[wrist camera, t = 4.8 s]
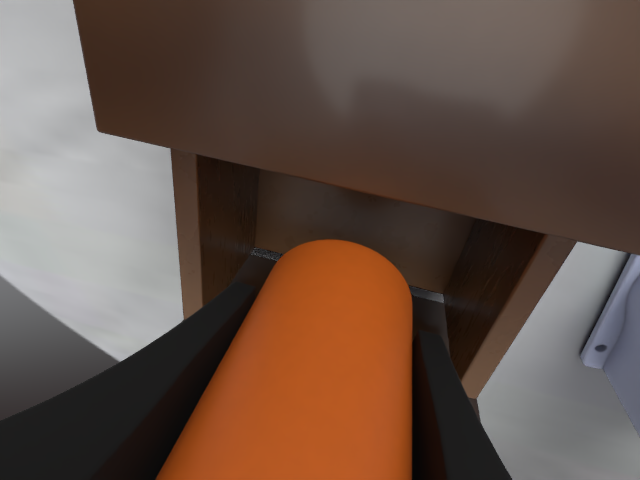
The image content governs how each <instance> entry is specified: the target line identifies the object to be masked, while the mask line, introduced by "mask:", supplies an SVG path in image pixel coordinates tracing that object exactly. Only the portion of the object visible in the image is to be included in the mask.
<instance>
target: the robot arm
mask: <svg viewBox="0 0 640 480" xmlns="http://www.w3.org/2000/svg"><path fill="white" fill-rule="evenodd" d="M255 296H256V287H255V286H251V285H248V284H244V283H240V282H234V283H232V284H231V285H230V286H228V287H227V288H226V289H225V290H223V291H222V292H221V293H220V294H218V295H217V296H216V297H215V298H213V299H212V300H211V301H210V302H208V303H207V304H206V305H204V306H203V307H202V308H200V309H199V310H198V311H196V312H195V313H194V314H192V315H191V316H190V317H188V318H187V319H185V320H184V321H183V322H181V323H180V324H179V325H177V326H176V327H174V328H173V329H171V330H170V331H169V332H167V333H166V334H164V335H162V336H161V337H159V338H158V339H156V340H155V341H153V342H152V343H150V344H149V345H147V346H146V347H144V348H143V349H141V350H139V351H138V352H136V353H135V354H133V355H131V356H130V357H128V358H126V359H125V360H123V361H121V362H120V363H118V364H116V365H114V366H112V367H111V368H109V369H107V370H105V371H104V372H102V373H100V374H98V375H96V376H94V377H93V378H90V379H88V380H87V381H85V382H83V383H81V384H79V385H77V386H75V387H73V388H71V389H69V390H67V391H65V392H63V393H61V394H59V395H57V396H55V397H53V398H51V399H49V400H46V401H44V402H42V403H40V404H37V405H35V406H33V407H31V408H29V409H26V410H24V411H22V412H19V413H17V414H15V415H12V416H10V417H8V418H6V419H3V420H1V421H0V480H155V479H156V477H157V476H158V474H159V472H160V470H161V468H162V467H163V465H164V463H165V461H166V459H167V458H168V456H169V454H170V452H171V450H172V449H173V447H174V445H175V443H176V441H177V440H178V438H179V436H180V434H181V432H182V431H183V429H184V427H185V425H186V423H187V422H188V420H189V418H190V416H191V414H192V413H193V411H194V409H195V407H196V405H197V404H198V402H199V400H200V398H201V396H202V395H203V393H204V391H205V389H206V387H207V386H208V384H209V382H210V380H211V378H212V377H213V375H214V373H215V371H216V369H217V368H218V366H219V364H220V362H221V360H222V359H223V357H224V355H225V353H226V351H227V350H228V348H229V346H230V344H231V342H232V341H233V339H234V337H235V335H236V333H237V332H238V330H239V328H240V326H241V324H242V323H243V321H244V319H245V317H246V315H247V314H248V312H249V310H250V308H251V306H252V305H253V303H254V301H255ZM597 345H600V346H597ZM580 358H581V360H582V362H583V364H584V365H585V366H588V367H592V368H599V369H603V370H604V372H605V374H606V375H607V377H608V379H609V381H610V383H611V385H612V387H613V388H614V390H615V392H616V394H617V396H618V398H619V400H620V401H621V403H622V405H623V407H624V409H625V411H626V412H627V414H628V416H629V418H630V420H631V422H632V424H633V425H634V427H635V429H636V431H637V433H638V435H639V437H640V255H635V254H631V256H630V258H629V260H628V262H627V264H626V266H625V268H624V270H623V272H622V274H621V276H620V278H619V280H618V282H617V284H616V286H615V288H614V290H613V292H612V294H611V296H610V298H609V300H608V302H607V304H606V306H605V308H604V310H603V312H602V314H601V316H600V318H599V320H598V322H597V324H596V326H595V328H594V330H593V332H592V334H591V336H590V338H589V340H588V342H587V344H586V346H585V348H584V350H583V352H582V354H581V357H580ZM412 480H512V478H511V476H510V475H509V473H508V471H507V470H506V468H505V466H504V465H503V463H502V461H501V459H500V458H499V456H498V454H497V452H496V450H495V449H494V447H493V445H492V443H491V441H490V439H489V438H488V436H487V434H486V432H485V430H484V428H483V426H482V424H481V422H480V420H479V419H478V416H477V414H476V412H475V410H474V408H473V406H472V404H471V402H470V400H469V398H468V396H467V394H466V392H465V390H464V388H463V385H462V383H461V381H460V379H459V376H458V374H457V372H456V370H455V367H454V365H453V363H452V360H451V358H450V356H449V353H448V351H447V348H446V346H445V343H444V341H443V339H442V337H441V335H437V334H433V333H430V332H426V331H422V330H418V331H417V333H416V335H415V338H414V340H413V342H412Z"/></svg>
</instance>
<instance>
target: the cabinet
mask: <svg viewBox="0 0 640 480" xmlns="http://www.w3.org/2000/svg"><path fill="white" fill-rule="evenodd" d="M73 4H74V9H75V14H76V20H77V25H78V30H79V36H80V41H81V46H82V52H83V57H84V63H85V68H86V73H87V79H88V84H89V89H90V95H91V100H92V106H93V111H94V116H95V122H96V127H97V130H98V131H99V132H101V133H105V134H110V135H114V136H119V137H123V138H127V139H132V140H136V141H141V142H145V143H149V144H154V145H158V146H162V147H167V148H171V149H176V150H180V151H184V152H189V153H193V154H197V155H202V156H206V157H211V158H215V159H219V160H224V161H228V162H232V163H237V164H241V165H246V166H250V167H254V168H259V169H263V170H267V171H272V172H276V173H281V174H285V175H289V176H294V177H298V178H303V179H307V180H311V181H316V182H320V183H324V184H329V185H333V186H338V187H342V188H346V189H351V190H355V191H359V192H364V193H368V194H373V195H377V196H381V197H386V198H390V199H394V200H399V201H403V202H408V203H412V204H416V205H421V206H425V207H429V208H434V209H438V210H443V211H447V212H451V213H456V214H460V215H465V216H469V217H473V218H478V219H482V220H486V221H491V222H495V223H500V224H504V225H508V226H513V227H517V228H521V229H526V230H530V231H535V232H539V233H543V234H548V235H552V236H556V237H561V238H565V239H570V240H574V241H578V242H583V243H587V244H592V245H596V246H600V247H605V248H609V249H613V250H618V251H622V252H627V253H631V254H635V255H640V0H73Z"/></svg>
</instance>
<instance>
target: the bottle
mask: <svg viewBox="0 0 640 480" xmlns="http://www.w3.org/2000/svg"><path fill="white" fill-rule="evenodd" d="M155 480H412V296H411V293H410V289H409V287H408V285H407V283H406V280H405V279H404V277H403V276H402V274H401V273H400V272H399V270H398V269H397V268H396V267H395V266H394V265H393V264H392V263H391V262H390V261H389V260H387V259H386V258H385V257H383V256H382V255H381V254H379V253H378V252H376V251H374V250H372V249H370V248H368V247H365V246H363V245H360V244H357V243H353V242H350V241H344V240H336V239H324V240H316V241H311V242H307V243H304V244H301V245H299V246H297V247H295V248H293V249H291V250H289V251H288V252H287V253H285V254H284V255H283V256H282V257H281V258H280V259H279V260H278V261H277V262H276V264H275V265H274V267H273V269H272V270H271V272H270V274H269V276H268V278H267V279H266V281H265V283H264V285H263V287H262V288H261V290H260V292H259V294H258V296H257V297H256V299H255V301H254V303H253V305H252V306H251V308H250V310H249V312H248V314H247V315H246V317H245V319H244V321H243V323H242V324H241V326H240V328H239V330H238V332H237V333H236V335H235V337H234V339H233V341H232V342H231V344H230V346H229V348H228V350H227V351H226V353H225V355H224V357H223V359H222V360H221V362H220V364H219V366H218V368H217V369H216V371H215V373H214V375H213V377H212V378H211V380H210V382H209V384H208V386H207V387H206V389H205V391H204V393H203V395H202V396H201V398H200V400H199V402H198V404H197V405H196V407H195V409H194V411H193V413H192V414H191V416H190V418H189V420H188V422H187V423H186V425H185V427H184V429H183V431H182V432H181V434H180V436H179V438H178V440H177V441H176V443H175V445H174V447H173V449H172V450H171V452H170V454H169V456H168V458H167V459H166V461H165V463H164V465H163V467H162V468H161V470H160V472H159V474H158V476H157V477H156V479H155Z"/></svg>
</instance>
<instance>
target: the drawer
mask: <svg viewBox="0 0 640 480" xmlns="http://www.w3.org/2000/svg"><path fill="white" fill-rule="evenodd" d="M171 161H172V174H173V186H174V199H175V212H176V225H177V238H178V250H179V263H180V276H181V289H182V302H183V315H184V320H185V319H187V318H188V317H190V316H191V315H192V314H194V313H195V312H196V311H198V310H199V309H200V308H202V307H203V306H204V305H206V304H207V303H208V302H210V301H211V300H212V299H213V298H215V297H216V296H217V295H218V294H220V293H221V292H222V291H223V290H225V289H226V288H227V287H228V286H230V285H231V284H232V283H234V282H240V283H244V284H248V285H251V286H255V287H256V296H255V299H256V297H257V296H258V294H259V292H260V290H261V288H262V287H263V285H264V283H265V281H266V279H267V278H268V276H269V274H270V272H271V270H272V269H273V267H274V265H275V264H276V262H277V261H275V260H271V259H267V258H263V257H259V256H255V255H251V252H252V251H253V250H254V248H255V247H257V248H261V249H265V250H269V251H273V252H277V253H281V254H285V253H287V252H288V251H289V250H291V249H293V248H295V247H297V246H299V245H301V244H304V243H307V242H311V241H316V240H324V239H336V240H344V241H350V242H353V243H357V244H360V245H363V246H365V247H368V248H370V249H372V250H374V251H376V252H378V253H379V254H381V255H382V256H383V257H385V258H386V259H387V260H389V261H390V262H391V263H392V264H393V265H394V266H395V267H396V268H397V269H398V270H399V272H400V273H401V274H402V276H403V277H404V279H405V280H406V283H407V285H409V286H413V287H417V288H421V289H425V290H429V291H433V292H437V293H441V294H443V297H444V303H441V302H437V301H433V300H429V299H425V298H421V297H417V296H413V295H411V296H412V342H413V340H414V338H415V335H416V333H417V331H418V330H422V331H426V332H430V333H433V334H437V335H441V337H442V339H443V341H444V343H445V346H446V348H447V351H448V353H449V356H450V358H451V360H452V363H453V365H454V367H455V370H456V372H457V374H458V376H459V379H460V381H461V383H462V385H463V388H464V390H465V392H466V394H467V396H468V398H469V400H470V402H471V404H472V406H473V408H474V410H475V412H476V414H477V416H478V419H479V420H480V416H479V410H478V404H477V397H478V395H479V394H480V392H481V391H482V389H483V387H484V386H485V384H486V383H487V381H488V380H489V378H490V377H491V375H492V373H493V372H494V370H495V369H496V367H497V366H498V364H499V363H500V361H501V359H502V358H503V356H504V355H505V353H506V352H507V350H508V348H509V347H510V345H511V344H512V342H513V341H514V339H515V338H516V336H517V334H518V333H519V331H520V330H521V328H522V327H523V325H524V324H525V322H526V320H527V319H528V317H529V316H530V314H531V313H532V311H533V310H534V308H535V306H536V305H537V303H538V302H539V300H540V299H541V297H542V295H543V294H544V292H545V291H546V289H547V288H548V286H549V285H550V283H551V281H552V280H553V278H554V277H555V275H556V274H557V272H558V271H559V269H560V267H561V266H562V264H563V263H564V261H565V260H566V258H567V257H568V255H569V253H570V252H571V250H572V249H573V247H574V246H575V244H576V243H577V241H574V240H570V239H565V238H561V237H556V236H552V235H548V234H543V233H539V232H535V231H530V230H526V229H521V228H517V227H513V226H508V225H504V224H500V223H495V222H491V221H486V220H482V219H478V218H473V217H469V216H465V215H460V214H456V213H451V212H447V211H443V210H438V209H434V208H429V207H425V206H421V205H416V204H412V203H408V202H403V201H399V200H394V199H390V198H386V197H381V196H377V195H373V194H368V193H364V192H359V191H355V190H351V189H346V188H342V187H338V186H333V185H329V184H324V183H320V182H316V181H311V180H307V179H303V178H298V177H294V176H289V175H285V174H281V173H276V172H272V171H267V170H263V169H259V168H254V167H250V166H246V165H241V164H237V163H232V162H228V161H224V160H219V159H215V158H211V157H206V156H202V155H197V154H193V153H189V152H184V151H180V150H176V149H171ZM184 320H183V321H184ZM183 321H182V322H183Z"/></svg>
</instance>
